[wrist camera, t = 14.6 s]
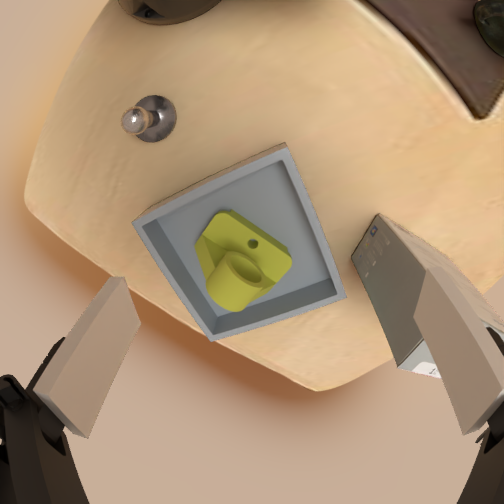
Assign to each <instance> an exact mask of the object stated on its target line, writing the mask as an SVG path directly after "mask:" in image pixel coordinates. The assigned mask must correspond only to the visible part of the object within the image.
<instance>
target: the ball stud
mask: <svg viewBox="0 0 504 504" xmlns="http://www.w3.org/2000/svg"><path fill="white" fill-rule="evenodd" d="M175 124H176V110H175V108H174V106H173V104H172V103H171V102H170V101H169V100H168V99H167V98H165V97H162V96H157V95H152V96H147V97H145V98H143V99H142V100H140V101H139V102H138V103H137V104H136V105H135V107H131V108H129V109H127V110H126V111H125V112H124V114H123V116H122V118H121V126H122V128H123V130H124V131H125V132H126V133H128V134H131V135H136V136H137V137H138V138H140V139H141V140H143V141H146V142H157V141H160V140H162V139H164V138H166V137H167V136H168V135H169V134H170V133H171V132H172V131H173V129H174V127H175Z"/></svg>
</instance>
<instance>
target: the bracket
mask: <svg viewBox="0 0 504 504" xmlns="http://www.w3.org/2000/svg"><path fill="white" fill-rule="evenodd" d="M250 239H255V240H257V241H251V240H250ZM194 248H195V251H196V254H197V257H198V259H199V262H200V265H201V268H202V271H203V274H204V277H205V279H206V283H205V285H206V289H207V292H208V294H209V295H210V297H211V298H212V299H213V300H214V301H215V302H216V303H217V304H218V305H220V306H221V307H223V308H224V309H226V310H229V311H233V312H239V311H242V310H243V309H244V308H245V307H246V306H247V305H248V304H249V303H250V302H252V301H254V300H256V299H258V298H259V297H261V296H263V295H265V294H267V293H268V292H269V291H270V290H271V289H272V288H273V286H274V285H275V284H276V283H277V282H278V281H279V280H280V279H281V278H282V277H283V276H284V274H285V273H286V272H287V271H288V270H289V269H290V268H291V266H292V257H291V255H290V254H289V253H288V249H287V247H286V246H285V245H283V244H282V243H280V242H279V241H277V240H276V239H275V238H273V237H272V236H270V235H269V234H267V233H266V232H264V231H263V230H262V229H260V228H259V227H257V226H256V225H254V224H253V223H251V222H250V221H248V220H247V219H246V218H244V217H243V216H241V215H240V214H238V213H237V212H235V211H234V210H232V209H231V211H230V212H228V211H219V212H217V213H216V214H215V216H214V217H213V219H212V220H211V221H210V223H209V224H208V226H207V227H206V229H205V230H204V232H203V233H202V234H201V236H200V237H199V239H198V240H197V242H196V243H195V245H194Z"/></svg>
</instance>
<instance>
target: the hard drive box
mask: <svg viewBox="0 0 504 504" xmlns="http://www.w3.org/2000/svg"><path fill="white" fill-rule="evenodd" d="M351 259H352V261H353V263H354V265H355V267H356V270H357V272H358V274H359V276H360V278H361V280H362V283H363V285H364V287H365V289H366V291H367V293H368V296H369V298H370V300H371V302H372V305H373V307H374V309H375V311H376V314H377V316H378V318H379V321H380V323H381V326H382V328H383V330H384V333H385V335H386V338H387V340H388V343H389V345H390V348H391V351H392V353H393V356H394V358H395V361H396V364H397V368H398V369H403V370H407V371H410V372H414V373H418V374H422V375H426V376H431V377H435V378H440V379H442V378H441V376H440V373H439V371H438V369H437V366H436V364H435V362H434V360H433V357H432V355H431V353H430V351H429V349H428V346H427V344H426V342H425V340H424V338H423V336H422V334H421V332H420V330H419V328H418V326H417V324H416V322H415V320H414V318H413V316H414V313H415V310H416V306H417V303H418V300H419V296H420V293H421V289H422V286H423V282H424V278H425V274H426V270H427V268H429V267H442V268H443V270H444V271H445V272H446V273H447V275H448V276H449V277H450V279H451V280H452V281H453V282H454V284H455V285H456V286H457V288H458V289H459V290H460V292H461V293H462V294H463V296H464V297H465V299H466V300H467V301H468V303H469V304H470V305H471V307H472V308H473V310H474V311H475V313H476V314H477V316H478V317H479V318H480V320H481V321H482V323H483V324H484V326H485V327H491V328H492V329H493V330H494V331H496V332H497V333H498V334H499V335H500V337H501V338H502V340H503V341H504V322H503V320H502V319H501V318H500V317H499V315H498V314H497V313H496V311H495V310H494V309H493V308H492V306H491V305H490V304H489V303H488V302H487V300H486V299H485V298H484V297H483V295H482V294H481V293H480V292H479V291H478V290H477V288H476V287H475V286H474V285H473V284H472V283H471V281H470V280H469V279H468V278H467V277H466V276H465V275H464V274H463V273H462V271H461V270H460V269H459V268H458V267H457V266H456V265H455V264H454V263H453V262H452V261H451V260H450V259H449V258H448V257H447V256H446V255H444V254H443V253H441V252H440V251H438V250H437V249H435V248H434V247H432V246H431V245H429V244H428V243H426V242H425V241H423V240H422V239H420V238H418V237H417V236H415V235H414V234H412V233H411V232H409V231H407V230H406V229H404V228H403V227H401V226H400V225H398V224H396V223H395V222H393V221H391V220H389V219H388V218H386V217H384V216H383V215H381V214H379V215H377V216H376V218H375V219H374V221H373V222H372V224H371V226H370V228H369V229H368V231H367V233H366V234H365V236H364V238H363V239H362V241H361V242H360V244H359V246H358V247H357V249H356V251H355V252H354V254H353V255H352V257H351Z"/></svg>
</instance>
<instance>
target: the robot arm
mask: <svg viewBox="0 0 504 504" xmlns="http://www.w3.org/2000/svg"><path fill="white" fill-rule="evenodd" d="M220 1H221V0H118V2H119V4H120V5H121V7H122V8H123V9H124V10H125V11H126V12H127V13H128V14H130V15H131V16H133V17H135V18H137V19H138V20H140V21H143V22H145V23H149V24H156V25H168V24H175V23H180V22H184V21H187V20H190V19H193V18H195V17H197V16H199V15H201V14H203V13H205V12H207V11H208V10H210V9H211V8H213V7H214V6H215V5H217V4H218V3H219V2H220ZM413 318H414V320H415V322H416V324H417V326H418V328H419V330H420V332H421V334H422V336H423V338H424V340H425V342H426V344H427V346H428V349H429V351H430V353H431V355H432V357H433V360H434V362H435V364H436V366H437V369H438V371H439V373H440V376H441V378H442V380H443V383H444V385H445V388H446V390H447V393H448V395H449V398H450V400H451V403H452V406H453V408H454V411H455V414H456V416H457V419H458V422H459V425H460V428H461V431H462V434H463V435H466V434H469V433H471V432H474V431H476V430H479V429H480V428H481V427H482V426H483V425H484V424H485V422H486V421H487V422H488V424H489V428H487V429H486V430H485V431H484V432H483V433H482V434H481V435H480V436H479V437H478V438H477V440H476V442H475V443H478V442H479V441H480V440H481V439H482V438H483V437H484V438H483V441H482V443H481V447H480V450H479V453H478V456H477V458H476V461H475V464H474V466H473V469H472V471H471V474H470V476H469V478H468V481H467V483H466V485H465V487H464V489H463V492H462V494H461V496H460V498H459V500H458V502H457V504H504V341H503V340H502V338H501V337H500V335H499V334H498V333H497V332H496V331H494V330H493V329H492V328H491V327H485V326H484V324H483V323H482V321H481V320H480V318H479V317H478V316H477V314H476V313H475V311H474V310H473V308H472V307H471V305H470V304H469V303H468V301H467V300H466V299H465V297H464V296H463V294H462V293H461V292H460V290H459V289H458V288H457V286H456V285H455V284H454V282H453V281H452V280H451V279H450V277H449V276H448V275H447V273H446V272H445V271H444V270H443V268H442V267H429V268H427V270H426V274H425V278H424V282H423V286H422V289H421V293H420V296H419V300H418V303H417V306H416V310H415V313H414V316H413ZM140 325H141V322H140V320H139V317H138V315H137V312H136V309H135V306H134V304H133V301H132V298H131V296H130V293H129V290H128V287H127V284H126V281H125V278H124V277H110V278H109V279H108V280H107V282H106V283H105V284H104V285H103V287H102V288H101V290H100V291H99V292H98V293H97V295H96V296H95V297H94V299H93V300H92V301H91V303H90V304H89V306H88V307H87V308H86V310H85V311H84V312H83V314H82V315H81V317H80V318H79V319H78V321H77V322H76V324H75V325H74V327H73V328H72V329H71V331H70V332H69V334H68V335H67V337H63V338H62V339H60V340H59V341H58V342H57V343H56V344H54V346H53V347H52V349H51V350H50V352H49V353H48V356H46V358H45V359H44V361H43V364H41V365H40V367H39V368H38V370H37V372H36V373H35V375H34V377H33V378H32V380H31V381H30V383H29V385H28V387H27V388H26V389H24V388H23V387H22V386H21V385H20V383H19V382H18V381H17V379H16V378H15V377H14V376H13V375H9V374H8V375H3V376H1V377H0V438H1V439H2V443H1V445H0V504H89V502H88V499H87V496H86V494H85V492H84V489H83V487H82V484H81V481H80V479H79V476H78V473H77V470H76V467H75V464H74V461H73V458H72V455H71V451H70V448H69V444H68V441H67V437H66V435H65V433H64V432H63V429H64V426H66V427H67V428H68V429H69V430H70V431H71V432H72V433H73V434H76V435H79V436H82V437H84V438H87V439H88V438H89V435H90V433H91V431H92V428H93V426H94V423H95V421H96V419H97V416H98V414H99V412H100V409H101V407H102V405H103V403H104V400H105V398H106V396H107V393H108V391H109V389H110V387H111V385H112V383H113V380H114V378H115V376H116V374H117V372H118V370H119V368H120V365H121V363H122V361H123V359H124V357H125V355H126V353H127V351H128V349H129V347H130V345H131V343H132V341H133V339H134V337H135V335H136V333H137V331H138V329H139V327H140Z"/></svg>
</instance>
